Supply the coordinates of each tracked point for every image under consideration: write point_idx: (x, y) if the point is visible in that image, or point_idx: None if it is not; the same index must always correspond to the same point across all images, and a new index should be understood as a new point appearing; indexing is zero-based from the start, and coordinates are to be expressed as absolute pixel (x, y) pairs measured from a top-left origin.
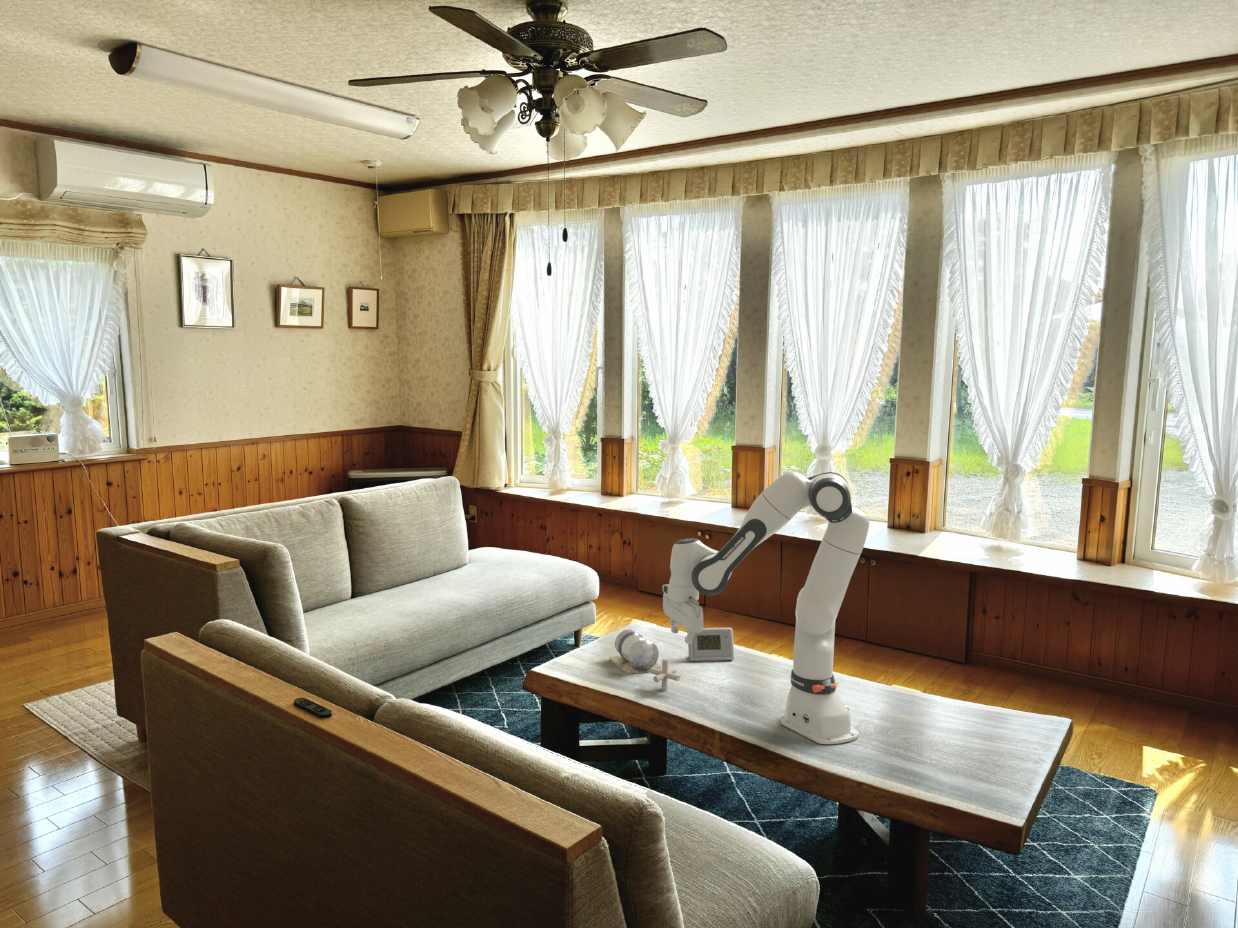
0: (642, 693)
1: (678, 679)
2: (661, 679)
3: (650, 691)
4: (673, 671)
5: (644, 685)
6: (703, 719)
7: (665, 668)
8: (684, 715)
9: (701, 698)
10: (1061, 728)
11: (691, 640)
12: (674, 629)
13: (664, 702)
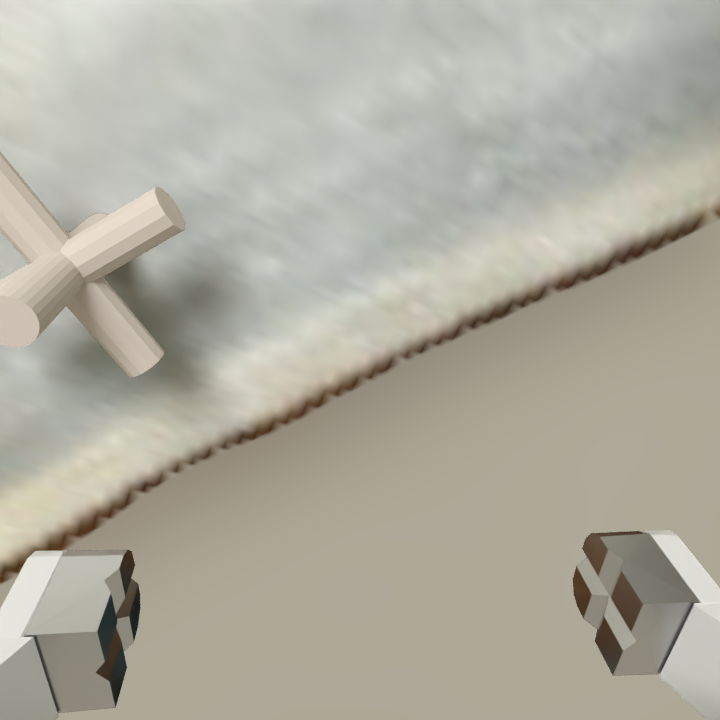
0: None
1: (170, 201)
2: (128, 309)
3: None
4: (15, 177)
5: None
6: (578, 211)
7: (69, 296)
8: (485, 285)
9: (310, 52)
10: None
11: (690, 575)
12: (119, 659)
13: (290, 311)
